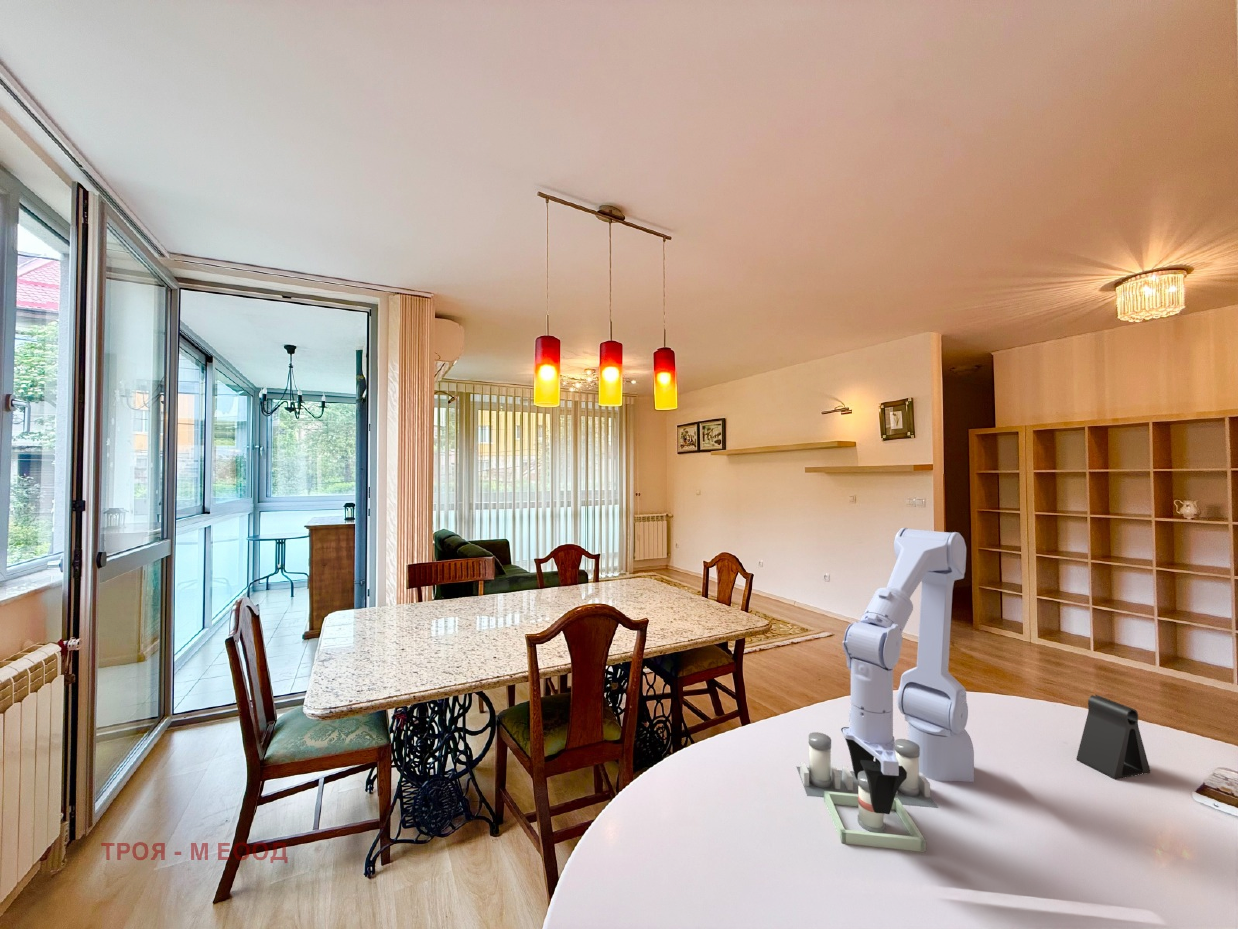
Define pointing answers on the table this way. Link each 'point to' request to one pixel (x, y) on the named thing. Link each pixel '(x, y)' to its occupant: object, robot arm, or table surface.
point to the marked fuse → (867, 807)
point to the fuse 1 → (820, 760)
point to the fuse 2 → (908, 766)
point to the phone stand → (1112, 740)
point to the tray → (870, 838)
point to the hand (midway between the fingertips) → (871, 794)
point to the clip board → (849, 784)
